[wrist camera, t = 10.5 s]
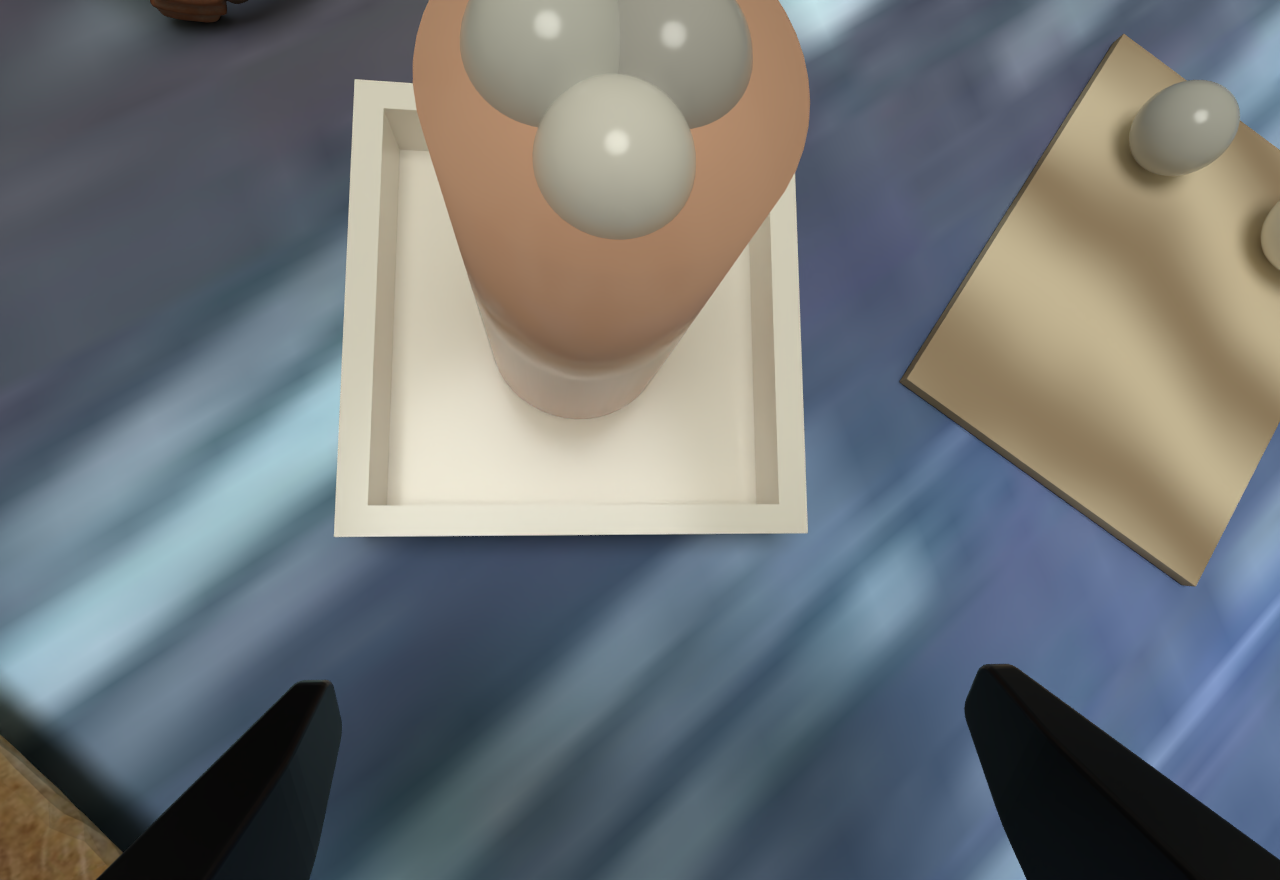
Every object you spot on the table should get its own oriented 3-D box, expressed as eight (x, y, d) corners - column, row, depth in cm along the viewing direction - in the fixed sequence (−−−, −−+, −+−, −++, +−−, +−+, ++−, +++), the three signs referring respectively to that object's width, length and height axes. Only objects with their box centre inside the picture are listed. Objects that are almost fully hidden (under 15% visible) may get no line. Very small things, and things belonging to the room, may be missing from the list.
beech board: (1182, 585, 24) (1195, 586, 24) (899, 381, 24) (906, 378, 23) (1364, 230, 27) (1379, 224, 27) (1113, 42, 27) (1123, 33, 26)
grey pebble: (1187, 193, 26) (1270, 150, 23) (1111, 189, 25) (1185, 144, 22) (1179, 116, 26) (1259, 62, 23) (1104, 110, 26) (1176, 56, 23)
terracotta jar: (698, 355, 22) (920, 101, 9) (556, 453, 21) (573, 331, 8) (598, 216, 23) (673, -233, 9) (453, 309, 22) (302, -46, 8)
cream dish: (774, 532, 23) (807, 533, 20) (364, 535, 21) (334, 537, 18) (763, 160, 24) (792, 109, 21) (380, 137, 23) (354, 79, 20)
